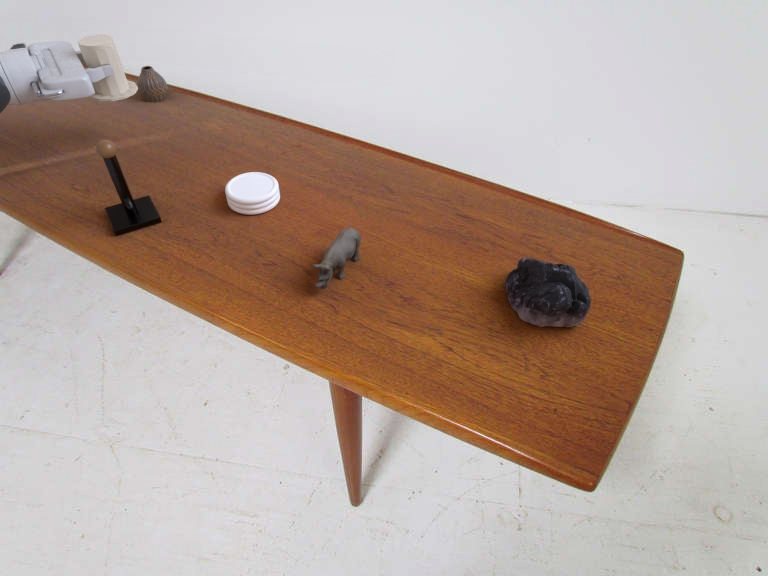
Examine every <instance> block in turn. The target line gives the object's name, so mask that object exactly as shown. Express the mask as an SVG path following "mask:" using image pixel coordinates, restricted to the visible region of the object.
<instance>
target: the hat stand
mask: <svg viewBox="0 0 768 576" xmlns="http://www.w3.org/2000/svg"><path fill="white" fill-rule="evenodd" d="M95 151H96V153H97V155H98V156H99V157H101V158H102V159H103V162H104V164H105V167H106V169H107V171H108V174H109V176H110V179H111V181H112V183H113V186H114V188H115V191H116V193H117V195H118V197H119V200H120V203H116V204H113V205H109V206H106V207H104V211H105V213H106V217H107V218H108V221H109V223H110V226H111V229H112V231H113V233H114V235H115V237H119V236H121V235H124V234H125V235H126V234H128V233H131V232H134V231H135V232H136V231H138V230H141V229H144V228H147V227H151V226H155V225H158V224H161V223H163V221H162V218H161V215H160V214H159V211H158V210H157V208H156V206H155V204H154V202H153V200H152V198H151V197H150V196H151V195H145V196H142V197H138V198H135V199H134V198H133V195H132V192H131V190H130V187H129V184H128V182H127V181H126V178H125V175H124V173H123V169H122V167H121V165H120V162H119V160H118V158H117V155H116V154H117V152H118V151H117V146H116V144H115V142H113V141H111V140H109V139H101V140H98V141H97V143H96V145H95Z"/></svg>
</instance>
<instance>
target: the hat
mask: <svg viewBox="0 0 768 576" xmlns="http://www.w3.org/2000/svg"><path fill="white" fill-rule="evenodd" d="M77 45H78V47H79V51H81V53H82V55H83V58H84V61H85V63H86V64H85V66H86V69H87V68H92V69H94V68H97V67H100V65H103V64H110V65H111V66H112V68H113V70H114V75H113V76H108V77H105V78H103V79H101V80H100V81H98V82H93V83H92V85H93V88H94V91H95V94H94V95H92V96H90V97H89V98H90V99H92V100H94V101H98V102H117V101H122V100H125V99H126V100H127V99H128V98H131V97H132V96H134V95H135V94H137V92H138V87H137V83H136V82H135V81H131V80H129V79H127V76H126V73H125V70H124V67H123V64H122V61H121V57H120V55H119V52H118V49H117V46H116V43H115V41H114V38H113V36H111V35H109V34H103V33H98V34H90V35H86V36H83V37H81V38H79V39H78V40H77Z"/></svg>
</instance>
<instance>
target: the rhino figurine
mask: <svg viewBox="0 0 768 576" xmlns="http://www.w3.org/2000/svg"><path fill="white" fill-rule="evenodd" d="M361 238H362V236H361V234H360V232H359V231H358V230H357V229H355V228H354V227H347V228H343V229H342V230H340V231H339V233H338V234H337V236H336V238H335V239H333V241H332V242H331V243H330V245H329V246H328V247H327V248H326V250H325V251H324V252H323V255H322V260H321V262H320V263H319V264H312V267H313V268H314V269H316V270H318V269H319V270H318V274H317V279H318V281H317V284H315V285H314V286H315V288H317V289H321V290H325V289H327V288H328V285H329V284H330V281H332V278H333V276H334V272H335V271H336V270H337V273H336V278H338V279H340V280H343V279H345V278H346V273H345V271H344V269H345V267H346V265H347V261H349V260H350V259H351V260H353V261H354V262H357V261H360V260H361V256H360V254H359V253H360V252H359V251H360V245H361V244H362V243H361V242H362V239H361Z"/></svg>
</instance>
